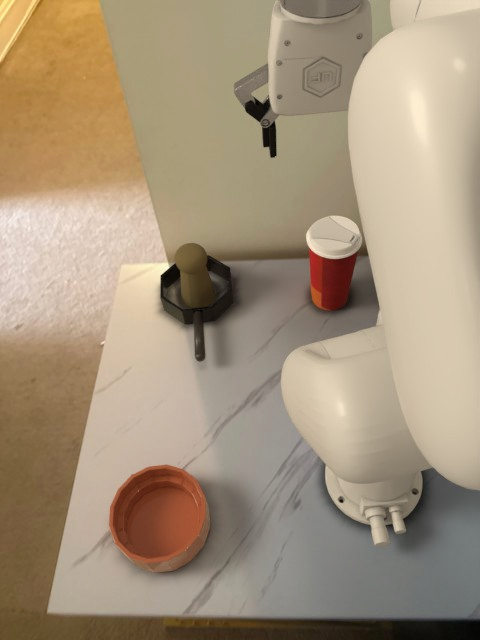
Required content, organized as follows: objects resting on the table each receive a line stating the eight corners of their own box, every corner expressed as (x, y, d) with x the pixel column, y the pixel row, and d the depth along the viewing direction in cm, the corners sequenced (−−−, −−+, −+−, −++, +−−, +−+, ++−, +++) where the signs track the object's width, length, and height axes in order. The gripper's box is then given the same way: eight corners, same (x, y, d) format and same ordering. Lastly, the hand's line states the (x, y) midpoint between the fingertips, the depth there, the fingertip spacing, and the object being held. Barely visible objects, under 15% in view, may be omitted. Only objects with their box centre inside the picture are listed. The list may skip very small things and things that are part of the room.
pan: (240, 365, 88) (239, 353, 85) (164, 374, 88) (160, 362, 85) (230, 266, 101) (228, 252, 98) (164, 273, 101) (160, 260, 98)
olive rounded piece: (197, 277, 100) (188, 231, 91) (223, 292, 97) (216, 247, 88) (174, 298, 97) (162, 253, 88) (199, 314, 94) (190, 270, 86)
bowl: (212, 567, 70) (208, 556, 66) (116, 578, 70) (106, 567, 66) (207, 475, 77) (203, 460, 73) (121, 484, 77) (112, 470, 73)
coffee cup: (362, 289, 95) (372, 223, 83) (340, 323, 91) (348, 259, 79) (317, 272, 98) (321, 206, 87) (295, 304, 94) (295, 239, 83)
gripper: (228, 17, 49) (241, 174, 63) (427, -2, 49) (396, 160, 62) (224, -21, 53) (237, 133, 67) (407, -39, 53) (382, 120, 67)
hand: (313, 146), depth 65 cm, fingers open, 9 cm apart
